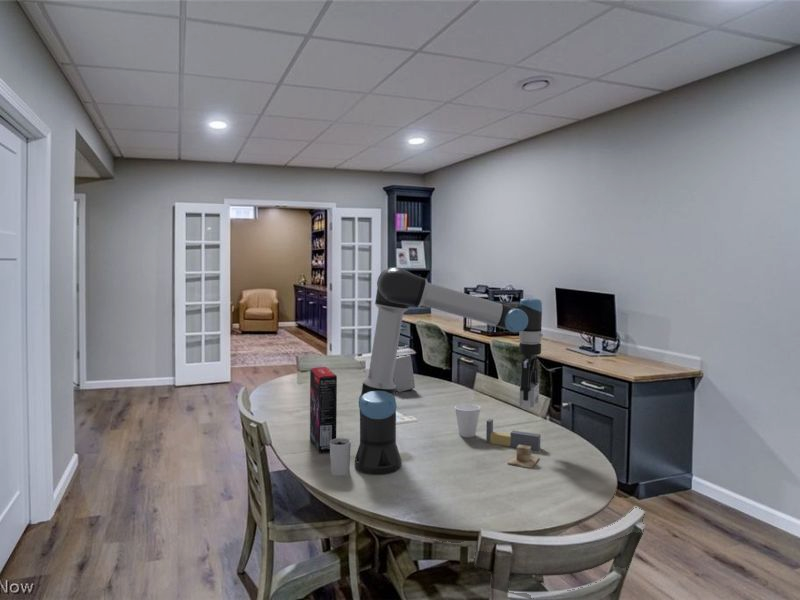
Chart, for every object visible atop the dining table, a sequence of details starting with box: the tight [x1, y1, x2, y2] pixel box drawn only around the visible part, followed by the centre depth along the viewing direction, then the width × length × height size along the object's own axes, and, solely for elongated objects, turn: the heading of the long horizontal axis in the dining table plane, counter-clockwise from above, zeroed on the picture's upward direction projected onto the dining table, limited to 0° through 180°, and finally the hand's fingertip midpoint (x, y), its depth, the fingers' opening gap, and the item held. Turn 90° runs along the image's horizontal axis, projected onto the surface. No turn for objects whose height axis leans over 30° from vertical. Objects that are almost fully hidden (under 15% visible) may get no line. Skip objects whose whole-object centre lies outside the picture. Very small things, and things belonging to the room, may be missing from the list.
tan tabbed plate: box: [507, 444, 540, 469], centre depth 185 cm, size 8×10×5 cm
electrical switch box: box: [393, 354, 416, 393], centre depth 285 cm, size 14×15×20 cm
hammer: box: [485, 418, 541, 452], centre depth 200 cm, size 19×3×8 cm, turn 63°
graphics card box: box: [309, 366, 338, 454], centre depth 199 cm, size 17×7×27 cm, turn 21°
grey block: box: [519, 382, 540, 408], centre depth 197 cm, size 5×7×7 cm
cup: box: [454, 403, 482, 439], centre depth 211 cm, size 10×10×11 cm
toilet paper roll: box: [329, 437, 352, 477], centre depth 175 cm, size 7×7×10 cm
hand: (529, 406), depth 197 cm, fingers closed on grey block, 7 cm apart
